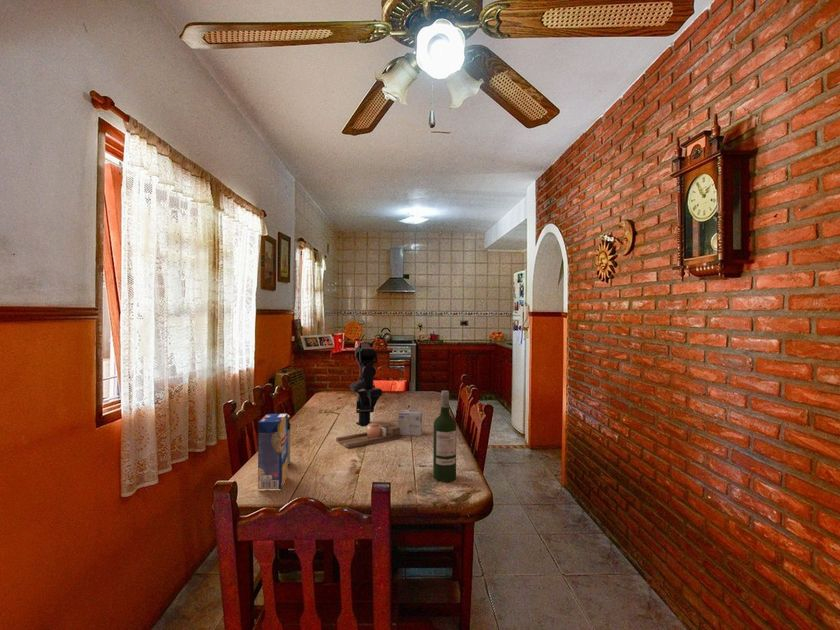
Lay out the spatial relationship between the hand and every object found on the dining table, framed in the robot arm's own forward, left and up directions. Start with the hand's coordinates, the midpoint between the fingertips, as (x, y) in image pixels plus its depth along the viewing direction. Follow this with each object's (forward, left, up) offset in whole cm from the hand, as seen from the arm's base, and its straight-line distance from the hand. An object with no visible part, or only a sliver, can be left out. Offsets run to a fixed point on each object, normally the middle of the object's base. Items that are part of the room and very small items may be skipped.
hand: (367, 407), depth 200 cm
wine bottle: (+64, -4, -12) cm, 65 cm away
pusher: (+11, +1, -12) cm, 16 cm away
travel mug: (+19, -47, -12) cm, 52 cm away
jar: (+11, -2, -11) cm, 16 cm away
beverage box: (+36, -54, -12) cm, 66 cm away
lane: (+11, -5, -12) cm, 17 cm away
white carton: (+13, +16, -12) cm, 24 cm away
